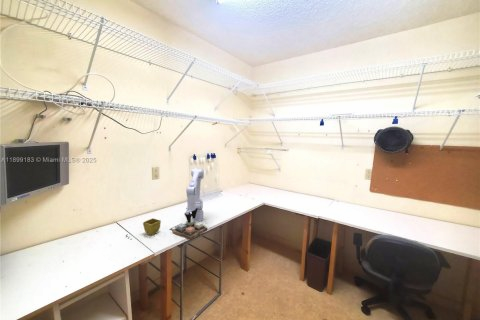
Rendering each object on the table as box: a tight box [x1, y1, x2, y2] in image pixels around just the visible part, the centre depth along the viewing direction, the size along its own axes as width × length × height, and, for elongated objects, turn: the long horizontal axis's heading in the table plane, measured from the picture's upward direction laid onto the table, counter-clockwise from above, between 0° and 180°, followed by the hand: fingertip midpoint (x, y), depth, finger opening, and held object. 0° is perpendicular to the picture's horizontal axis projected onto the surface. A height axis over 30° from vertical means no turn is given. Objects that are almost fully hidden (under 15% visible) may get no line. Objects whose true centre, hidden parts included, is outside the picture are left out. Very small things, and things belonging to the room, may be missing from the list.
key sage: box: [185, 220, 195, 226], centre depth 153 cm, size 4×4×2 cm
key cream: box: [194, 221, 204, 228], centre depth 149 cm, size 4×4×2 cm
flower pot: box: [142, 218, 162, 236], centre depth 143 cm, size 9×9×9 cm
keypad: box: [171, 223, 208, 241], centre depth 147 cm, size 18×18×4 cm
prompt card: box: [169, 222, 183, 231], centre depth 154 cm, size 12×4×1 cm, turn 151°
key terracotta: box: [186, 226, 195, 233], centre depth 141 cm, size 4×4×2 cm
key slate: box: [177, 223, 186, 230], centre depth 145 cm, size 4×4×2 cm
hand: (191, 220), depth 147 cm, fingers open, 7 cm apart
